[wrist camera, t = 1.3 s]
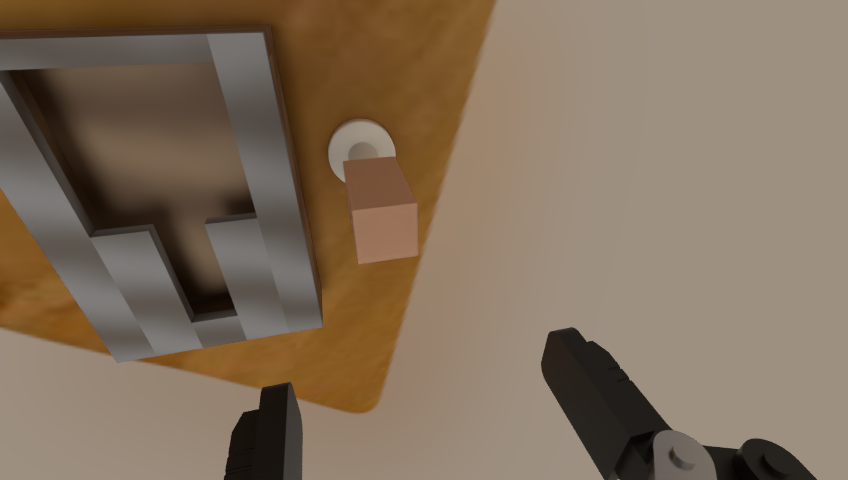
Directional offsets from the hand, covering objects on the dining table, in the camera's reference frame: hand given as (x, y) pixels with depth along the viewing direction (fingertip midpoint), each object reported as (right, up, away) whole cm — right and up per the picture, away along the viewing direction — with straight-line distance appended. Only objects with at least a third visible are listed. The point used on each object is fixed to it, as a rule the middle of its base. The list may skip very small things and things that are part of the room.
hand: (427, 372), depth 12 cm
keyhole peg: (-5, +10, +16) cm, 20 cm away
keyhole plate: (-16, +7, +15) cm, 23 cm away
